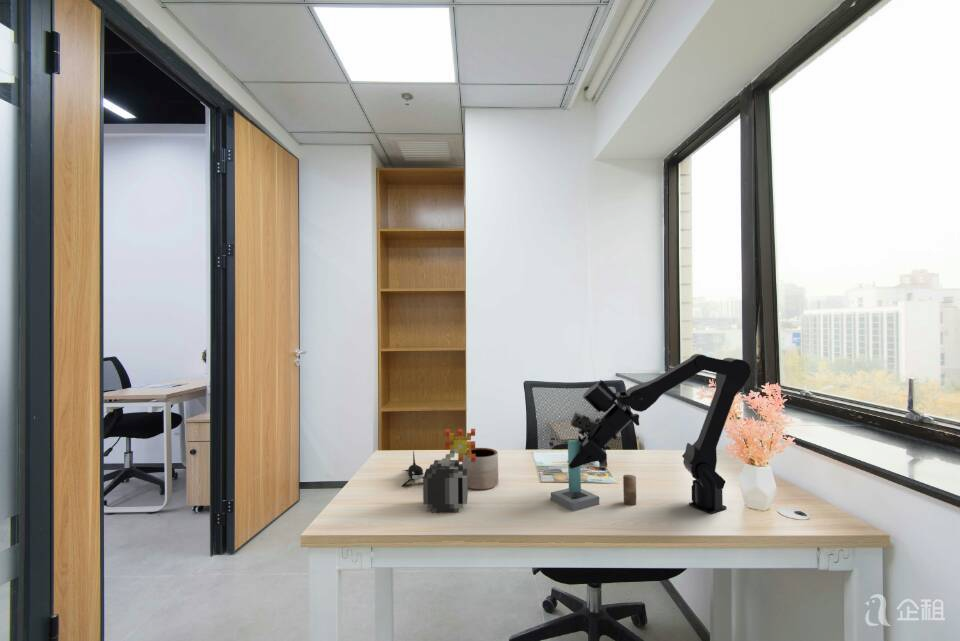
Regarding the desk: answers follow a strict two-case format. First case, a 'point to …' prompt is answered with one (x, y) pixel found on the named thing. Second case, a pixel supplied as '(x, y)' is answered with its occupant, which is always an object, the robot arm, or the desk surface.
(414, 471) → the toy
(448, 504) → the bomb
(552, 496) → the socket block
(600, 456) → the robot arm
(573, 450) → the teal pin
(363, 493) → the desk surface
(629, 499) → the walnut pin
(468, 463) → the planter
